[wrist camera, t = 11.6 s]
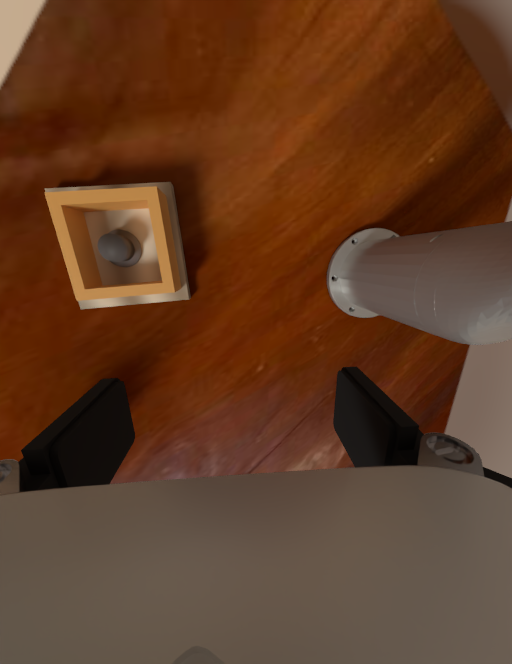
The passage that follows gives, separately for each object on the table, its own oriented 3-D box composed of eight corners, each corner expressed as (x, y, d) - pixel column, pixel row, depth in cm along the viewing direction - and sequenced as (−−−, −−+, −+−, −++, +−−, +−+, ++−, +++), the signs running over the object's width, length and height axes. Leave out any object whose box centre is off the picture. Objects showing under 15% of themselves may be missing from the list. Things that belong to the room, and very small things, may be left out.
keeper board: (172, 185, 30) (163, 173, 26) (190, 297, 34) (185, 303, 30) (53, 192, 29) (23, 180, 24) (87, 307, 33) (65, 314, 29)
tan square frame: (166, 196, 29) (156, 186, 25) (181, 288, 32) (174, 292, 28) (69, 201, 28) (44, 192, 24) (95, 295, 31) (76, 300, 27)
